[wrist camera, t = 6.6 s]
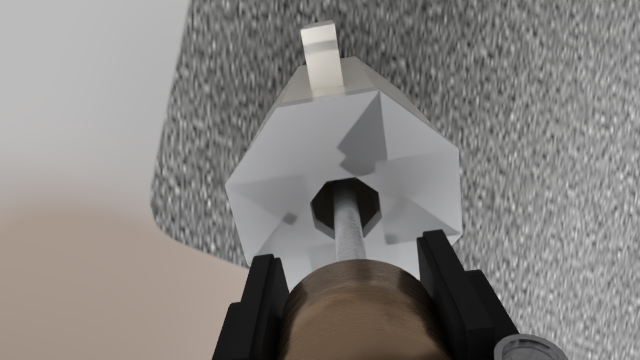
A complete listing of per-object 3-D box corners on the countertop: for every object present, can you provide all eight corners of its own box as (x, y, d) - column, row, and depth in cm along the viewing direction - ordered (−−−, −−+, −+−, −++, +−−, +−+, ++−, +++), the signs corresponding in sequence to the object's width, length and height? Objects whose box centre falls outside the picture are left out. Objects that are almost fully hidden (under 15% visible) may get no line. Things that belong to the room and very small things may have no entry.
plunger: (300, 119, 24) (249, 346, 8) (368, 107, 24) (461, 318, 7) (312, 181, 25) (291, 478, 9) (376, 171, 25) (468, 460, 9)
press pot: (249, 33, 26) (186, 53, 14) (392, 7, 25) (451, 4, 14) (286, 195, 30) (261, 313, 19) (409, 176, 30) (464, 287, 18)
